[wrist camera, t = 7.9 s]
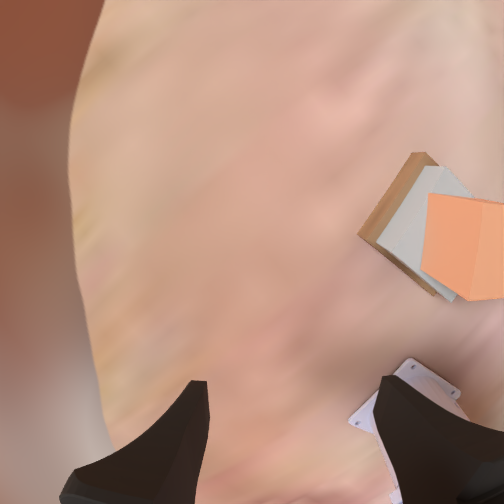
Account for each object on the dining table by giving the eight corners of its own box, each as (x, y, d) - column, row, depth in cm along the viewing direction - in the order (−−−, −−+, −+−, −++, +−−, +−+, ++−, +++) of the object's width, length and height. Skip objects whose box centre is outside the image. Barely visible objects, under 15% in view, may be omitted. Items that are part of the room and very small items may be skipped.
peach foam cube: (482, 199, 16) (538, 210, 11) (474, 268, 17) (524, 295, 12) (428, 192, 16) (482, 202, 11) (420, 269, 17) (468, 301, 12)
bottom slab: (466, 212, 21) (485, 217, 18) (418, 284, 22) (433, 296, 20) (408, 153, 20) (425, 152, 17) (354, 232, 21) (366, 240, 19)
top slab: (477, 220, 18) (498, 227, 16) (433, 289, 20) (451, 303, 17) (425, 165, 18) (446, 166, 15) (375, 242, 19) (391, 252, 16)
